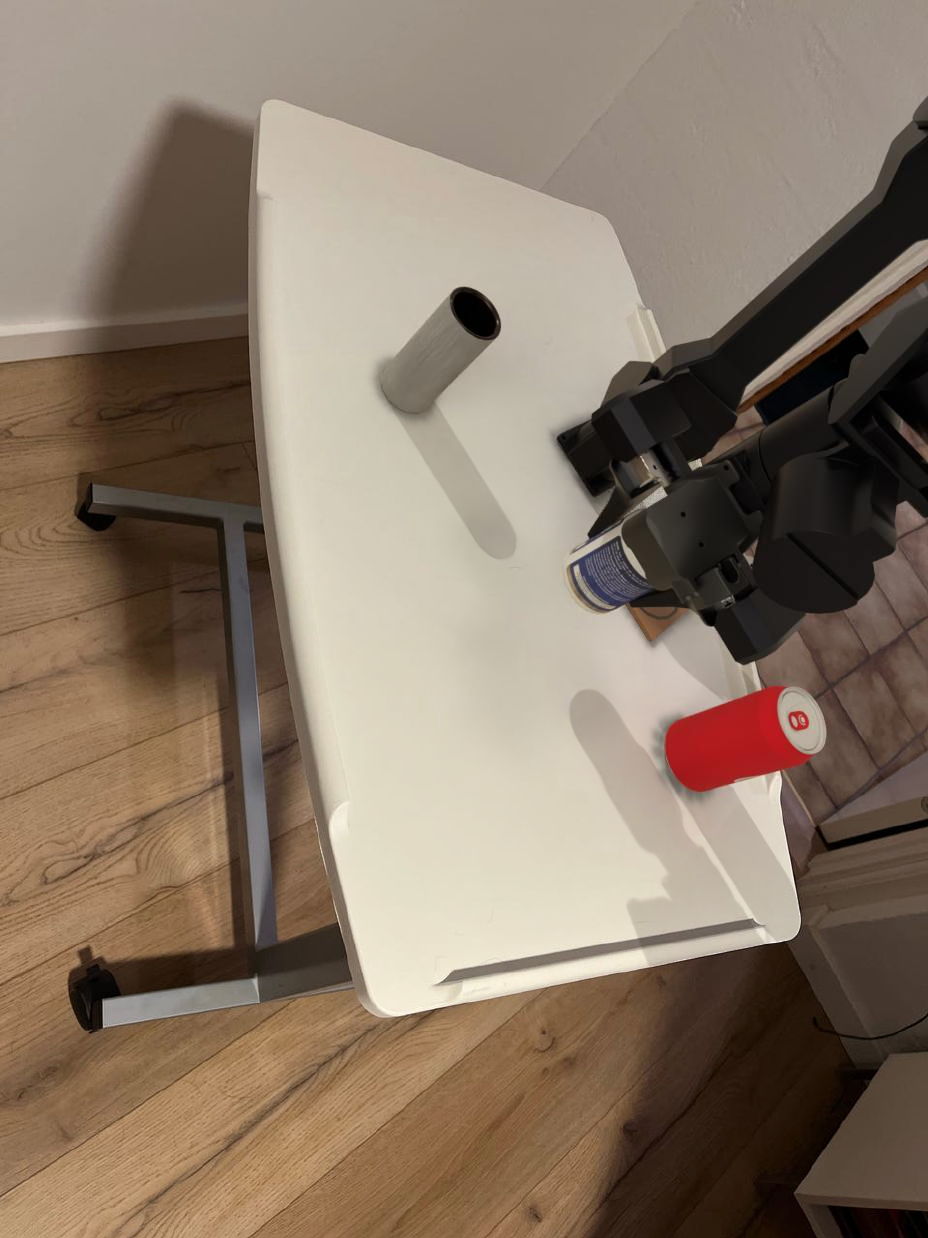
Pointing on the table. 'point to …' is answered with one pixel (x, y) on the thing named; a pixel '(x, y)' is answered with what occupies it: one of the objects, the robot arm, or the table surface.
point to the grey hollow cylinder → (441, 350)
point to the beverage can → (745, 738)
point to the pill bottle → (604, 571)
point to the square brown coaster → (656, 618)
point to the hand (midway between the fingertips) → (611, 568)
